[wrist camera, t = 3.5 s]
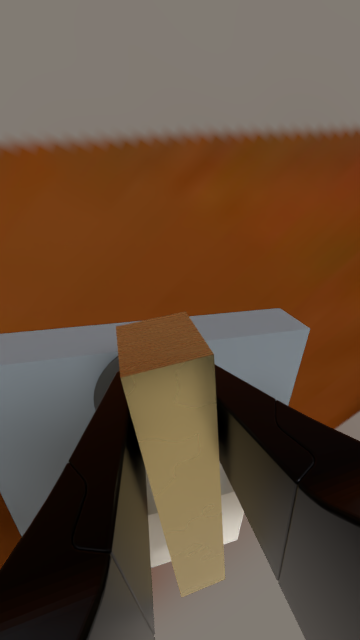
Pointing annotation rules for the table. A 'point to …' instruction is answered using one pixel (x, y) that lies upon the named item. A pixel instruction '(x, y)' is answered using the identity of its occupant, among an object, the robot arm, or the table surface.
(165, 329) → the brass door handle
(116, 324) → the lock plate
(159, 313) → the table surface
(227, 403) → the robot arm
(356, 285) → the table surface
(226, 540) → the white square block
